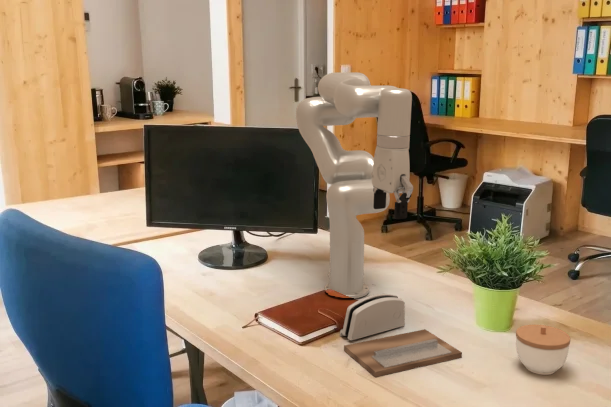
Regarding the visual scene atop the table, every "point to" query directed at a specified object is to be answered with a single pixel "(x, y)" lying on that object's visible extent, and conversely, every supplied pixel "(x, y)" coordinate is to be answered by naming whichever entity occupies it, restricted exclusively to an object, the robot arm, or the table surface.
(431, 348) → the plate
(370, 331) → the white arched block
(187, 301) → the table surface
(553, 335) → the lidded jar
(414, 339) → the mounting board
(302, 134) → the robot arm
